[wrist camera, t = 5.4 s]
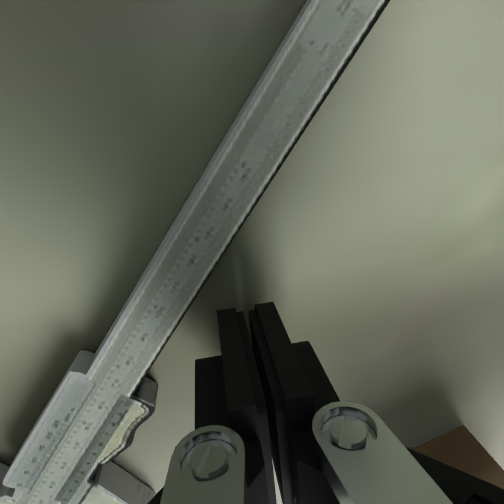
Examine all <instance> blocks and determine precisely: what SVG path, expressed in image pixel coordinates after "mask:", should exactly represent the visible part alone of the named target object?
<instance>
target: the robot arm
mask: <svg viewBox="0 0 504 504" xmlns="http://www.w3.org/2000/svg"><path fill="white" fill-rule="evenodd" d="M248 314H249V323H250V332H251V341H252V345H251V341H250V337H249V333H248V329H247V325H246V321H245V317H244V313H243V311H242V312H236V309H235V308H230V309H223V310H217V317H218V326H219V335H220V344H221V353H222V355H220V356H214V357H208V358H203V359H197V360H195V430H194V431H192V432H190V433H189V434H188V435H186V436H185V437H184V438H182V439H181V441H180V442H179V443H178V444H177V446H176V447H175V449H174V452H173V454H172V456H171V460H170V464H169V468H168V473H167V477H166V481H165V485H164V487H163V488H162V489H161V490H160V491H159V492H158V493H157V494H156V495H155V496H154V497H153V498H152V499H151V500H150V501H149V502H148V503H147V504H277V503H276V494H275V484H274V474H273V464H272V459H273V463H274V468H275V472H276V476H277V481H278V485H279V489H280V494H281V498H282V502H283V504H504V489H502V488H500V487H498V486H496V485H493V484H491V483H489V482H486V481H484V480H482V479H479V478H477V477H475V476H472V475H470V474H468V473H465V472H463V471H461V470H458V469H456V468H454V467H451V466H449V465H447V464H444V463H442V462H440V461H437V460H435V459H433V458H430V457H428V456H426V455H423V454H421V453H419V452H416V451H414V450H412V449H409V448H407V447H405V446H404V445H403V444H402V443H401V442H400V441H399V439H398V438H397V437H396V436H395V435H394V434H393V432H392V431H391V430H390V429H389V428H388V426H387V425H386V424H385V423H384V422H383V421H382V419H381V418H380V417H379V416H378V415H377V414H376V413H375V412H373V411H372V410H371V409H369V408H367V407H365V406H364V405H362V404H358V403H354V402H348V401H340V400H339V398H338V396H337V394H336V392H335V390H334V388H333V386H332V384H331V383H330V381H329V379H328V377H327V375H326V373H325V371H324V369H323V367H322V365H321V363H320V361H319V360H318V358H317V356H316V354H315V352H314V350H313V348H312V346H311V344H310V343H309V342H308V341H304V342H298V343H292V344H291V341H290V339H289V337H288V334H287V332H286V330H285V328H284V325H283V323H282V321H281V318H280V316H279V314H278V312H277V309H276V307H275V305H274V303H273V302H269V303H262V304H256V305H255V310H249V311H248Z"/></svg>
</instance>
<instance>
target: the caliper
mask: <svg viewBox="0 0 504 504" xmlns="http://www.w3.org/2000/svg"><path fill="white" fill-rule="evenodd" d="M389 1H390V0H307V1H306V3H305V5H304V6H303V8H302V10H301V11H300V13H299V15H298V16H297V18H296V20H295V21H294V23H293V24H292V26H291V28H290V29H289V31H288V33H287V34H286V36H285V38H284V39H283V41H282V43H281V44H280V46H279V48H278V49H277V51H276V53H275V54H274V56H273V58H272V59H271V61H270V62H269V64H268V66H267V67H266V69H265V71H264V72H263V74H262V76H261V77H260V79H259V81H258V82H257V84H256V86H255V87H254V89H253V91H252V92H251V94H250V96H249V97H248V99H247V100H246V102H245V104H244V105H243V107H242V109H241V110H240V112H239V114H238V115H237V117H236V119H235V120H234V122H233V124H232V125H231V127H230V129H229V130H228V132H227V134H226V135H225V137H224V139H223V140H222V142H221V144H220V145H219V147H218V149H217V150H216V152H215V154H214V155H213V157H212V159H211V160H210V162H209V164H208V165H207V167H206V169H205V171H204V172H203V174H202V176H201V177H200V179H199V181H198V182H197V184H196V186H195V187H194V189H193V191H192V192H191V194H190V196H189V197H188V199H187V201H186V202H185V204H184V206H183V207H182V209H181V211H180V212H179V214H178V216H177V217H176V219H175V221H174V222H173V224H172V226H171V227H170V229H169V231H168V232H167V234H166V236H165V237H164V239H163V241H162V242H161V244H160V246H159V247H158V249H157V251H156V252H155V254H154V256H153V257H152V259H151V261H150V263H149V264H148V266H147V268H146V269H145V271H144V273H143V274H142V276H141V278H140V279H139V281H138V283H137V284H136V286H135V288H134V289H133V291H132V293H131V294H130V296H129V298H128V299H127V301H126V303H125V304H124V306H123V308H122V309H121V311H120V313H119V314H118V316H117V318H116V319H115V321H114V323H113V324H112V326H111V328H110V329H109V331H108V333H107V334H106V336H105V338H104V339H103V341H102V343H101V344H100V346H99V348H98V349H97V351H96V353H95V354H94V353H92V352H90V351H83V350H80V351H79V353H78V354H77V356H76V358H75V359H74V361H73V363H72V364H71V366H70V367H69V369H68V371H67V372H66V374H65V376H64V377H63V379H62V381H61V382H60V384H59V385H58V387H57V389H56V390H55V392H54V394H53V395H52V397H51V399H50V400H49V402H48V403H47V405H46V407H45V408H44V410H43V412H42V413H41V415H40V417H39V418H38V420H37V421H36V423H35V425H34V426H33V428H32V430H31V431H30V433H29V434H28V436H27V438H26V439H25V441H24V443H23V444H22V446H21V448H20V449H19V451H18V453H17V455H16V457H15V459H14V461H13V463H12V464H11V466H7V465H5V464H3V463H0V504H147V503H148V502H149V501H150V500H151V499H152V498H153V497H154V496H155V493H154V491H153V490H152V489H150V488H149V487H148V486H146V485H145V484H143V483H142V482H140V481H139V480H138V479H136V478H135V477H133V476H132V475H130V474H129V473H128V472H126V471H125V470H123V469H122V468H120V467H119V466H117V465H116V464H115V463H113V462H112V461H111V460H112V459H114V458H115V457H116V456H118V455H119V454H120V453H121V452H123V451H124V450H125V449H127V448H128V447H129V446H130V445H131V443H132V441H133V439H134V434H135V431H136V429H137V428H138V427H139V426H140V425H141V424H142V423H143V422H144V421H146V420H147V419H148V418H149V417H150V416H151V415H152V414H153V412H154V410H155V405H156V398H157V390H158V384H157V383H156V382H155V381H153V380H151V379H149V378H147V377H145V376H146V374H147V373H148V371H149V369H150V368H151V366H152V365H153V363H154V362H155V360H156V359H157V357H158V355H159V354H160V352H161V351H162V349H163V348H164V346H165V345H166V343H167V341H168V340H169V338H170V337H171V335H172V334H173V332H174V331H175V329H176V327H177V326H178V324H179V323H180V321H181V320H182V318H183V317H184V315H185V313H186V312H187V310H188V309H189V307H190V306H191V304H192V303H193V301H194V299H195V298H196V296H197V295H198V293H199V292H200V290H201V289H202V287H203V285H204V284H205V282H206V281H207V279H208V278H209V276H210V275H211V273H212V272H213V270H214V268H215V267H216V265H217V264H218V262H219V261H220V259H221V258H222V256H223V254H224V253H225V251H226V250H227V248H228V247H229V245H230V244H231V242H232V240H233V239H234V237H235V236H236V234H237V233H238V231H239V230H240V228H241V227H242V225H243V223H244V222H245V220H246V219H247V217H248V216H249V214H250V213H251V211H252V210H253V208H254V207H255V205H256V204H257V202H258V201H259V199H260V198H261V196H262V195H263V193H264V192H265V190H266V188H267V187H268V185H269V184H270V182H271V181H272V179H273V178H274V176H275V175H276V173H277V172H278V170H279V169H280V167H281V166H282V164H283V163H284V161H285V160H286V158H287V157H288V155H289V153H290V152H291V150H292V149H293V147H294V146H295V144H296V143H297V141H298V140H299V138H300V137H301V135H302V134H303V132H304V131H305V129H306V128H307V126H308V125H309V123H310V122H311V120H312V118H313V117H314V115H315V114H316V112H317V111H318V109H319V108H320V106H321V105H322V103H323V102H324V100H325V99H326V97H327V96H328V94H329V93H330V91H331V90H332V88H333V87H334V85H335V83H336V82H337V80H338V79H339V77H340V76H341V74H342V73H343V71H344V70H345V68H346V67H347V65H348V64H349V62H350V61H351V59H352V58H353V56H354V55H355V53H356V52H357V50H358V48H359V47H360V45H361V44H362V42H363V41H364V39H365V38H366V36H367V35H368V33H369V32H370V30H371V29H372V27H373V26H374V24H375V23H376V21H377V20H378V18H379V17H380V15H381V13H382V12H383V10H384V9H385V7H386V6H387V4H388V3H389Z"/></svg>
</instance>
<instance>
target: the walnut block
mask: <svg viewBox="0 0 504 504" xmlns="http://www.w3.org/2000/svg"><path fill="white" fill-rule="evenodd" d="M412 450H414V451H416V452H419V453H421V454H423V455H426V456H428V457H430V458H433V459H435V460H437V461H440V462H442V463H444V464H447V465H449V466H451V467H454V468H456V469H458V470H461V471H463V472H465V473H468V474H470V475H472V476H475V477H477V478H479V479H482V480H484V481H486V482H489V483H491V484H493V485H496V486H498V487H500V488H502V489H504V470H503V469H502V468H501V467H500V466H499V465H498V463H497V462H496V461H495V460H494V459H493V458H492V457H491V456H490V454H489V453H488V452H487V451H486V450H485V449H484V448H483V447H482V445H481V444H480V443H479V442H478V441H477V440H476V439H475V437H474V436H473V435H472V434H471V433H470V432H469V431H468V430H467V428H466V427H465V426H464V425H463V426H461V427H459V428H457V429H454V430H452V431H450V432H448V433H446V434H444V435H442V436H440V437H438V438H435V439H433V440H431V441H429V442H427V443H425V444H423V445H421V446H418V447H416V448H414V449H412Z"/></svg>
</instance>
